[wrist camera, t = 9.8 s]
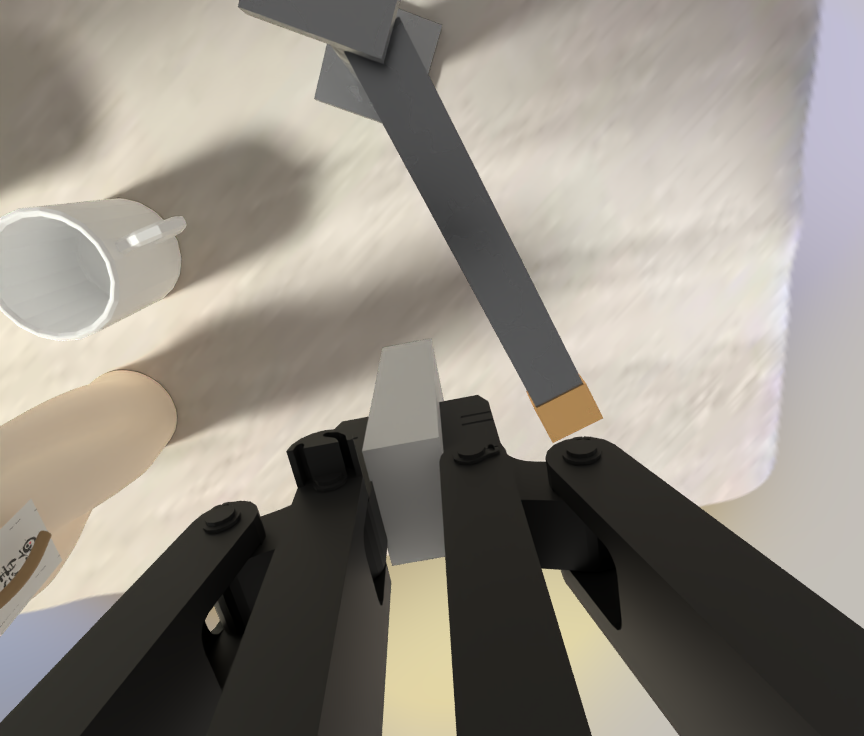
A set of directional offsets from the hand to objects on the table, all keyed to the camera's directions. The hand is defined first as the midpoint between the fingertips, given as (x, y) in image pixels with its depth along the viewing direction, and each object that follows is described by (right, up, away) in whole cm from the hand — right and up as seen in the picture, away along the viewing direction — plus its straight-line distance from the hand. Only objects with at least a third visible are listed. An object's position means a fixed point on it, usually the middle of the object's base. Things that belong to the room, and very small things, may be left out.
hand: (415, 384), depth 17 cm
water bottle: (-24, -3, +30) cm, 39 cm away
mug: (-21, +10, +26) cm, 35 cm away
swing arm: (+3, +6, +9) cm, 11 cm away
